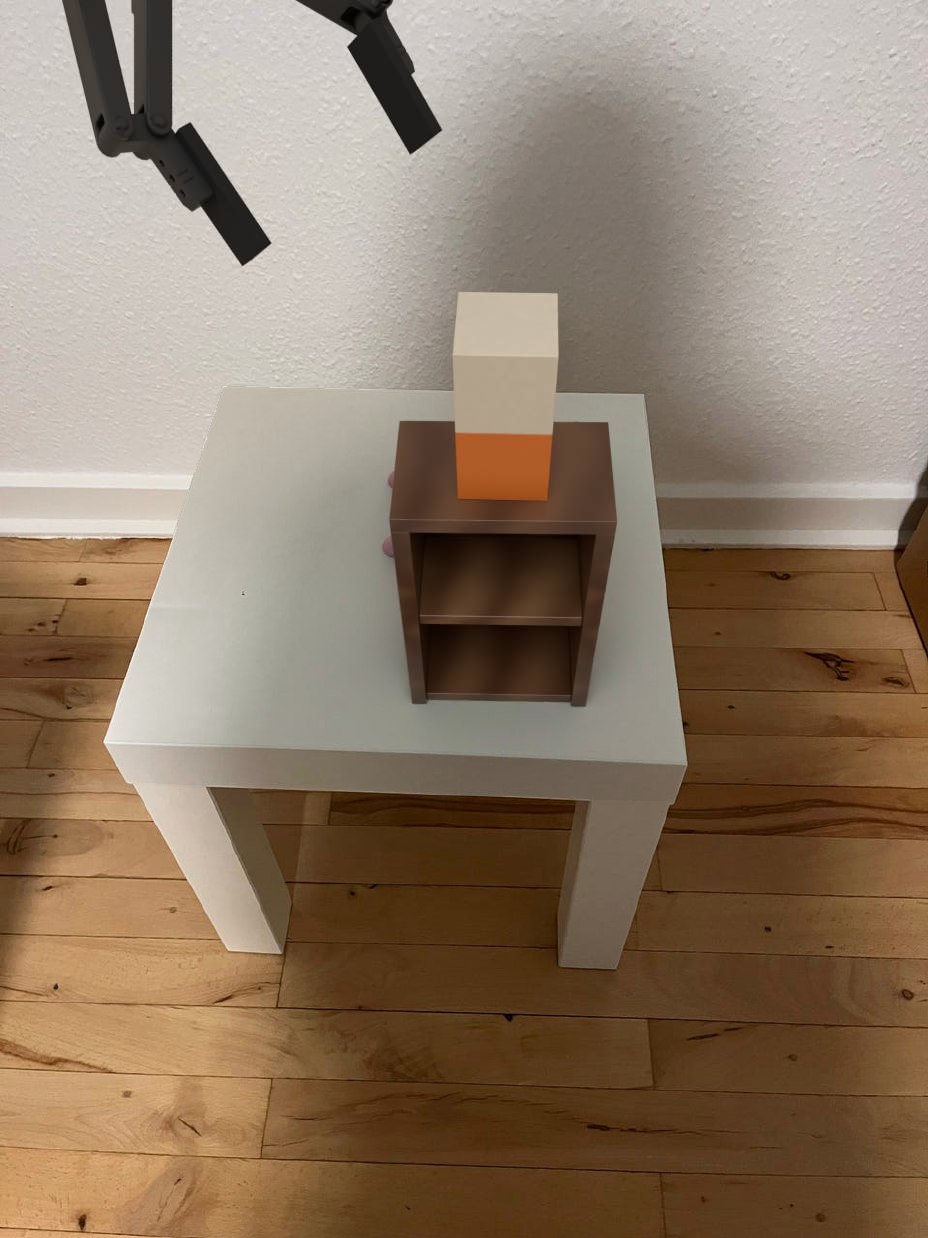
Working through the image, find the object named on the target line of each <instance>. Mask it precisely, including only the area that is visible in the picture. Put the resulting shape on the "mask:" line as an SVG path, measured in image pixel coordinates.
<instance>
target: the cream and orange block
mask: <svg viewBox="0 0 928 1238" xmlns="http://www.w3.org/2000/svg"><path fill="white" fill-rule="evenodd" d="M456 302H457V303H456V313H455V325H454V334H453V345H452V377H453V379H452V381H453V406H454V407H453V408H454V410H453V411H454V421H455V439H456V467H457V496H458V499H483V500H524V501H547V498H548V486H549V473H550V460H551V447H552V434H553V422H555V409H556V408H555V407H556V394H557V385H558V384H557V381H558V369H559V294H558V293H557V292H556V293H555V292H499V291H498V292H495V291H492V292H490V291H489V292H488V291H486V292H485V291H458V292H457V301H456Z"/></svg>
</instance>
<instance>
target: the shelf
mask: <svg viewBox="0 0 928 1238" xmlns="http://www.w3.org/2000/svg"><path fill="white" fill-rule="evenodd" d="M609 424H610V423H609V421H577V422H574V421H554V422H553V434H552V447H551V460H550V473H549V486H548V498H547V501H524V500H483V499H458V496H457V467H456V439H455V420H399V423H398V431H397V440H396V451H395V460H394V469H393V471H394V478H393V487H392V488H391V498H390V507H389V517H388V521H389V530H390V535H391V539H392V547H393V555H394V556H393V563H394V571H395V578H396V586H397V587H396V588H397V593H398V603H399V611H400V618H401V626H402V627H401V628H402V634H403V642H404V650H405V651H404V652H405V658H406V659H405V660H406V666H407V675H408V683H409V691H410V699H411V700H410V701H411V704H412V705H427V704H428V701H475V702H476V701H477V702H479V701H481V702H482V701H483V702H537V703H538V702H542V703H543V702H544V703H570V707H583V708H584V707H586V706H587V701H588V695H589V689H590V683H591V677H592V673H593V668H594V667H593V665H594V660H595V655H596V650H597V649H596V648H597V643H598V637H599V631H600V625H601V620H602V614H603V607H604V602H605V595H606V590H607V584H608V580H609V579H608V577H609V573H610V567H611V561H612V555H613V550H614V543H615V538H616V532H617V526H618V515H617V514H618V513H617V505H616V504H617V503H616V502H617V501H616V493H615V481H614V480H615V479H614V471H613V459H612V449H611V436H610V426H609Z"/></svg>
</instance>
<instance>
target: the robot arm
mask: <svg viewBox="0 0 928 1238" xmlns="http://www.w3.org/2000/svg"><path fill="white" fill-rule="evenodd" d="M61 2H62V6H63V10H64V15H65V19H66V24H67V27H68V32H69V35H70V36H69V37H70V40H71V43H72V47H73V52H74V56H75V61H76V65H77V69H78V73H79V76H80V81H81V85H82V91H83V94H84V99H85V103H86V106H87V110H88V114H89V119H90V123H91V127H92V131H93V135H94V139H95V140H94V141H95V143H96V146H97V149H98V151H99V152H100V153H101V154H102V155H103V156H105V157H107V158H111V159H113V158H117V157H118V156H120V155H121V154H126V153H132V155H134V156H135V157H136V158H137V159H138V160H142V161H149V160H151V162H152V164H154V166H155V167H156V168H157V170H158V172H159V173H160V174H161V176H162V178H163V179H164V180H165V182H166V183H167V184H168V186H169V187H170V189H171V190H172V191H173V193H174V194H175V196H176V197H177V199H178V200H179V202H180V203H181V204H182V206H184V207H185V208H186V209H188V210H189V211H190V212H191V213H193V212H194V211H196V210H198V209H199V208H201V209H202V210H203V212H204V213H205V215H206V216H207V218H208V219H209V220H210V222H211V224H212V225H213V227H214V228H215V229H216V231H217V232H218V233H219V235H220V236H221V238H222V240H223V241H224V242H225V244H226V245H227V246H228V248H229V249H230V251H231V252H232V254H233V255H234V257H235V258H236V260H237V261H238V263H239V264H240V265H241V267H244V266H245V265H247V264H248V263H250V262H251V261H253V260H254V259H256V258H257V256H259V255H260V254H261V253H262V252H264V251H265V250H266V249H267V248H268V247H270V245H272V241H271V240H270V238H269V236H268V235H267V234H266V232H265V231H264V229H263V228H262V225H260V223H259V222H258V220H257V219H256V217H255V216H254V214H253V213H252V211H251V210H250V209H249V207H248V205H247V204H246V203H245V201H244V200H243V198H242V196H241V195H240V193H239V192H238V191H237V188H236V187H235V186H234V184H233V183H232V181H231V180H230V178H229V177H228V176H227V174H226V173H225V171H224V169H223V168H222V167H221V165H220V164H219V162H218V160H217V159H216V158H215V156H214V154H213V153H212V151H211V150H210V148H209V147H208V146H207V144H206V143H205V142H204V141H205V140H204V139H202V137H201V135H200V134H199V132H198V130H197V129H196V128H195V126H194V125H193V123H192V122H191V121H189V122H188V123H187V122H186V123H185V124H184V125H182V126H180V127H179V128H177V130H176V131H175V130H174V129H173V0H130V9H131V10H130V11H131V14H132V15H133V113H132V110H131V105H130V101H129V97H128V92H127V88H126V84H125V79H124V76H123V71H122V67H121V66H122V65H121V63H120V57H119V54H118V49H117V45H116V41H115V37H114V33H113V28H112V25H111V20H110V16H109V11H108V7H107V3H106V0H61ZM295 2H298V3H299V4H301V5H303V6H304V7H306V8H308V9H310V10H312V11H313V12H315V13H317V14H318V15H320V16H322V17H324V18H325V19H327V20H328V21H330V22H332V23H333V24H335V25H337V26H339V27H341V28H342V29H344V30H345V31H348V32H350V33H351V34H353V35H354V36H355V37H354V38H353V40H351V42H349V44H348V45H347V46H346V48H347V50H348V51H349V53H350V55H351V57H352V58H353V60H354V62H355V63H356V66H357V67H358V68H359V70H360V72H361V74H362V76H363V77H364V79H365V81H366V82H367V84H368V85H369V88H370V89H371V91H372V92H373V93H374V96H375V97H376V100H377V101H378V103H379V104H380V106H381V108H382V110H383V111H384V113H385V115H386V117H387V119H388V120H389V122H390V123H391V125H392V127H393V128H394V130H395V133H397V136H398V137H399V139H400V140H401V143H403V146H404V147H405V149H406V151H407V152H408V154H409V155H410V156H411V155H412V154H414V153H415V152H417V151H418V150H420V149H421V148H422V147H423V146H425V145H426V144H428V143H429V142H430V141H431V140H432V139H434V138H435V137H436V136H437V135H438V134H440V133H441V132H442V131H443V128H442V127H441V125H440V123H439V121H438V119H437V117H436V116H435V114H434V112H433V111H432V108H431V107H430V105H429V102H427V100H426V98H425V96H424V94H423V93H422V91H421V89H420V87H419V86H418V84H417V82H416V80H415V79H414V77H413V74H415V72H416V70H415V66H414V62H413V60H412V58H411V57H410V54H409V53H408V51H407V49H406V47H405V46H404V44H403V42H402V40H401V39H400V36H399V35H398V33H397V31H396V29H395V28H394V26H393V24H392V22H391V21H390V18H389V15H388V9H389V8H390V7H391V6H392V5H393V2H394V0H295Z"/></svg>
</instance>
